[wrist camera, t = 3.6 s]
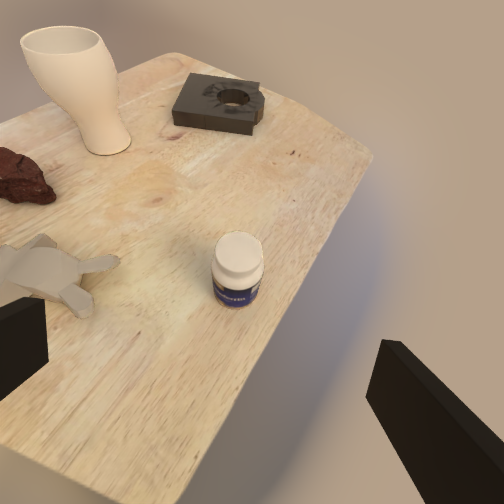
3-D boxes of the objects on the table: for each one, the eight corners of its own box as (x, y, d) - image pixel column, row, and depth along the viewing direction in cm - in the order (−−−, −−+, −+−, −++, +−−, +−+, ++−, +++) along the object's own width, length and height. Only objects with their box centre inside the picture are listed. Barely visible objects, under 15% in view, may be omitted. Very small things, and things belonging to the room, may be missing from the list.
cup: (146, 152, 44) (113, 51, 31) (82, 167, 41) (16, 61, 28) (131, 121, 49) (97, 21, 36) (72, 132, 45) (12, 27, 33)
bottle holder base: (265, 97, 58) (266, 83, 56) (260, 136, 50) (261, 122, 47) (191, 87, 58) (190, 72, 55) (174, 125, 49) (171, 110, 47)
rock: (58, 218, 38) (79, 179, 42) (40, 195, 33) (66, 152, 36) (-25, 199, 36) (5, 159, 39) (-60, 170, 30) (-22, 127, 33)
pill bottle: (205, 299, 31) (197, 260, 22) (226, 263, 34) (225, 218, 25) (246, 318, 30) (254, 286, 21) (264, 280, 33) (276, 239, 24)
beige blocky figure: (0, 222, 29) (113, 237, 28) (34, 245, 34) (133, 260, 32) (-68, 293, 24) (65, 318, 23) (-18, 310, 29) (96, 332, 27)
